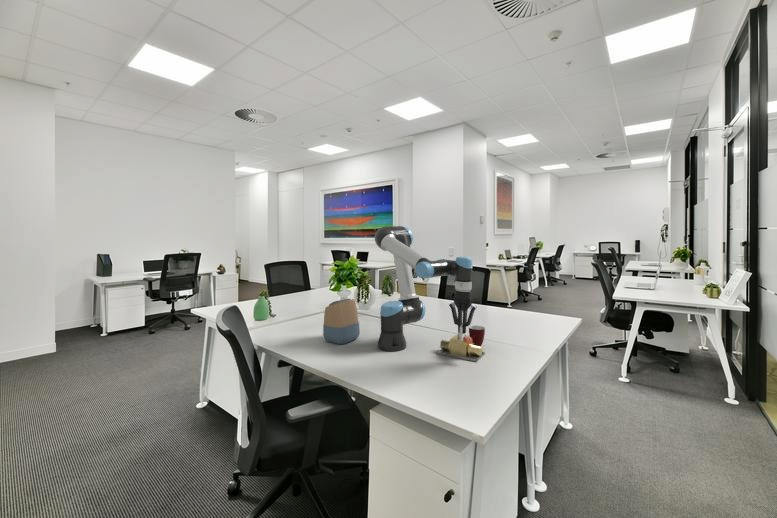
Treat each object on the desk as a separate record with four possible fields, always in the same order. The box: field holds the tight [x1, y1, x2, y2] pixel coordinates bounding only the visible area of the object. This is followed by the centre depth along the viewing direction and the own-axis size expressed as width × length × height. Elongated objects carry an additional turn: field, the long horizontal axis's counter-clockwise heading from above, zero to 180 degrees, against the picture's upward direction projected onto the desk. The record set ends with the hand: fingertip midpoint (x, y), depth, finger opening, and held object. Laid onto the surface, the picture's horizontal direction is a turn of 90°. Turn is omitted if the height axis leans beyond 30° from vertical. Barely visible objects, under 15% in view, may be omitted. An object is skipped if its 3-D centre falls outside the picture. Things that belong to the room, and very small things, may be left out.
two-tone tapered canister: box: [322, 298, 361, 345], centre depth 191 cm, size 17×17×23 cm
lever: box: [457, 332, 472, 344], centre depth 162 cm, size 12×3×3 cm, turn 11°
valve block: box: [436, 334, 486, 363], centre depth 167 cm, size 20×12×8 cm, turn 57°
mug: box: [468, 325, 486, 347], centre depth 177 cm, size 10×8×10 cm
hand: (461, 339), depth 160 cm, fingers closed
